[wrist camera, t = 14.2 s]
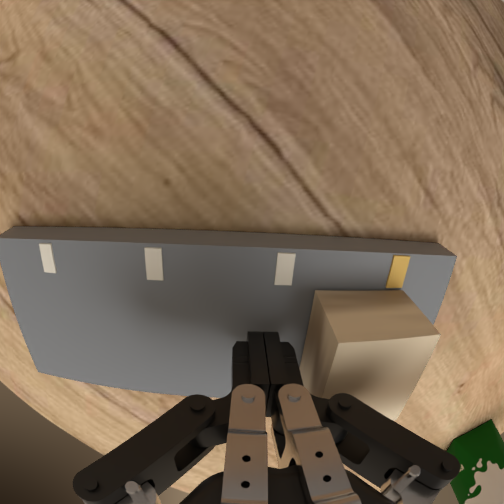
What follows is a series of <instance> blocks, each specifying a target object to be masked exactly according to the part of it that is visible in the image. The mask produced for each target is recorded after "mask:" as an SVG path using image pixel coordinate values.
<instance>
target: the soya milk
mask: <svg viewBox="0 0 504 504" xmlns="http://www.w3.org/2000/svg"><path fill="white" fill-rule="evenodd" d="M446 452H448V453H450V454H452V455H453V456H455V457H456V458H457V459H458V461H459V463H460V471H459V474H458V475H457V476H456V477H455V478H454V479H453V480H452V481H451V482H450V484H451V486H452V488H453V491H454V493H455V495H456V497H457V500H458V502H459V504H504V442H503V440H502V438H501V436H500V434H499V432H498V430H497V428H496V427H495V425H494V423H493V421H492V419H491V420H489V421H488V422H486V423H484V424H482V425H481V426H479V427H477V428H475V429H473V430H471V431H470V432H468V433H466V434H464V435H462V436H460V437H458V438H456V439H454V440H453V442H452V443H451V445H450V447H449V448H448V450H447V451H446Z"/></svg>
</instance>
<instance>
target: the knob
mask: <svg viewBox="0 0 504 504" xmlns="http://www.w3.org/2000/svg"><path fill="white" fill-rule="evenodd" d="M440 335H441V334H440V333H439V332H438V330H437V329H436V328H435V327H434V326H433V324H432V323H431V322H430V321H429V320H428V318H427V317H426V316H425V315H424V314H423V313H422V311H421V310H420V309H419V308H418V307H417V306H416V304H415V303H414V302H413V301H412V300H411V299H410V297H409V296H408V295H407V294H406V293H405V292H404V291H403V290H381V291H331V290H315V294H314V299H313V305H312V310H311V315H310V320H309V325H308V330H307V335H306V340H305V345H304V349H303V354H302V359H301V363H300V368H299V369H300V373H301V377H302V381H303V385H304V387H305V388H307V389H308V391H309V392H310V394H312V395H314V396H316V397H320V398H326V399H330V398H331V397H332V396H333V395H335V394H338V393H347V394H350V395H352V396H354V397H356V398H357V399H359V400H360V401H362V402H363V403H365V404H367V405H368V406H370V407H371V408H373V409H375V410H376V411H378V412H379V413H381V414H383V415H384V416H386V417H388V418H389V419H391V420H396V419H397V418H398V416H399V414H400V413H401V411H402V409H403V408H404V406H405V404H406V402H407V401H408V399H409V397H410V395H411V394H412V392H413V390H414V388H415V386H416V384H417V383H418V381H419V379H420V377H421V375H422V373H423V371H424V369H425V367H426V365H427V363H428V361H429V359H430V357H431V355H432V352H433V350H434V348H435V346H436V344H437V342H438V339H439V337H440Z"/></svg>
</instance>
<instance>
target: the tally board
mask: <svg viewBox="0 0 504 504" xmlns="http://www.w3.org/2000/svg"><path fill="white" fill-rule="evenodd" d="M456 258H457V256H456V255H455V254H453V253H452V252H450V251H449V250H448V249H446V248H445V247H443V246H442V245H441V244H439V243H429V242H415V241H401V240H386V239H370V238H354V237H336V236H318V235H299V234H279V233H258V232H234V231H209V230H181V229H148V228H106V227H37V226H14V227H12V228H10V229H9V230H7V231H5V232H4V233H2V234H1V235H0V263H1V267H2V271H3V275H4V279H5V282H6V286H7V289H8V293H9V296H10V299H11V303H12V306H13V309H14V312H15V315H16V318H17V321H18V323H19V326H20V329H21V332H22V334H23V337H24V339H25V342H26V344H27V347H28V349H29V352H30V354H31V357H32V359H33V361H34V364H35V366H36V368H37V370H38V372H41V373H45V374H49V375H53V376H57V377H62V378H66V379H71V380H76V381H80V382H86V383H91V384H96V385H102V386H108V387H114V388H121V389H128V390H135V391H143V392H151V393H160V394H171V395H183V396H190V395H195V394H200V395H205V396H207V397H217V398H223V397H225V396H227V395H228V394H229V393H230V392H231V367H232V348H233V346H234V345H235V343H236V341H246V340H247V331H262V332H263V331H266V332H278V333H279V337H280V342H289V343H290V344H291V345H292V346H293V348H294V349H295V353H296V358H297V361H298V365H299V368H300V363H301V359H302V354H303V349H304V345H305V340H306V335H307V330H308V325H309V320H310V315H311V310H312V305H313V299H314V294H315V290H331V291H381V290H403V291H404V292H405V293H406V294H407V295H408V296H409V297H410V299H411V300H412V301H413V302H414V303H415V304H416V306H417V307H418V308H419V309H420V310H421V311H422V313H423V314H424V315H425V316H426V317H427V318H428V320H429V321H430V322H431V323H432V324H434V322H435V319H436V317H437V314H438V311H439V309H440V306H441V303H442V301H443V298H444V295H445V292H446V289H447V286H448V283H449V280H450V277H451V274H452V271H453V268H454V264H455V261H456Z"/></svg>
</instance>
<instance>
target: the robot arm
mask: <svg viewBox="0 0 504 504" xmlns="http://www.w3.org/2000/svg"><path fill="white" fill-rule="evenodd" d="M265 417H271V419H272V425H271V434H272V439H273V443H274V448H275V452H276V457H277V461H278V469H277V468H271V467H268V448H267V432H266V427H265ZM223 443H227V444H226V454H225V465H224V471H223V472H220V473H217V474H215V475H212V476H210V477H209V478H207V479H206V480H204V481H203V482H202V483H200V484H199V485H198V486H197V487H196V488H195V489H194V490H193V491H192V492H191V493H190V494H189V495H188V496H187V497H186V498H185V499H184V500H183V501H182V502H180V503H179V504H432V503H433V501H434V500H435V498H436V496H437V495H438V493H439V491H440V490H442V489H443V488H444V487H445V486H446V485H447V484H448V483H450V482H451V481H452V480H453V479H454V478H455V477H456V476H457V475H458V474H459V471H460V463H459V461H458V459H457V458H456V457H455V456H453V455H452V454H450V453H448V452H446V451H444V450H443V449H441V448H439V447H437V446H435V445H434V444H432V443H430V442H428V441H427V440H425V439H423V438H421V437H420V436H418V435H416V434H414V433H413V432H411V431H409V430H408V429H406V428H404V427H403V426H401V425H399V424H397V423H396V422H394V421H393V420H391V419H389V418H388V417H386V416H384V415H383V414H381V413H379V412H378V411H376V410H375V409H373V408H371V407H370V406H368V405H367V404H365V403H363V402H362V401H360V400H359V399H357V398H356V397H354V396H352V395H350V394H347V393H338V394H335V395H333V396H332V397H331V398H330V399H326V398H320V397H316V396H314V395H312V394H310V392H309V391H308V389H307V388H305V387H304V385H303V381H302V377H301V373H300V369H299V365H298V361H297V358H296V353H295V349H294V348H293V346H292V345H291V344H290V343H289V342H280V337H279V333H278V332H266V331H263V332H262V331H247V340H246V341H236V343H235V345H234V346H233V348H232V367H231V392H230V393H229V394H228V395H227V396H225V397H223V398H220V399H216V400H211V399H210V398H209V397H207V396H205V395H200V394H195V395H190V396H188V397H186V398H185V399H183V400H182V401H181V402H179V403H178V404H177V405H175V406H174V407H173V408H171V409H170V410H169V411H167V412H166V413H165V414H163V415H162V416H161V417H159V418H158V419H156V420H155V421H154V422H152V423H151V424H150V425H148V426H147V427H145V428H144V429H142V430H141V431H140V432H138V433H137V434H135V435H134V436H133V437H131V438H130V439H128V440H127V441H125V442H124V443H122V444H121V445H119V446H118V447H116V448H115V449H114V450H112V451H111V452H109V453H108V454H106V455H105V456H103V457H102V458H100V459H98V460H97V461H95V462H94V463H92V464H91V465H89V466H88V467H86V468H84V469H83V470H81V471H80V472H78V473H77V474H76V476H75V477H74V479H73V488H74V491H75V492H76V494H77V495H78V496H79V497H80V498H81V499H82V500H83V502H84V503H85V504H161V501H160V499H159V498H158V495H160V494H161V493H162V492H163V491H165V490H166V489H167V488H168V487H170V486H171V485H172V484H173V483H174V482H176V481H177V480H178V479H179V478H180V477H182V476H183V475H184V474H185V473H186V472H187V471H189V470H190V469H191V468H192V467H193V466H194V465H196V464H197V463H198V462H199V461H200V460H201V459H202V458H203V457H205V456H206V455H207V454H208V453H209V452H210V451H211V450H212V449H213V448H214V447H215V445H219V444H223ZM343 464H345V465H346V466H347V467H349V468H350V469H352V470H353V471H355V472H356V473H358V474H359V475H361V476H362V477H364V478H365V479H367V480H368V481H370V482H371V483H373V484H374V485H376V486H378V487H379V488H381V490H380V491H381V493H380V492H378V491H377V490H376V489H374V488H373V487H371V486H370V485H368V484H367V483H365V482H364V481H363V480H361V479H360V478H359V477H357V476H356V475H354V474H353V473H351V472H350V471H348V470H345V469H344V466H343Z"/></svg>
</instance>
